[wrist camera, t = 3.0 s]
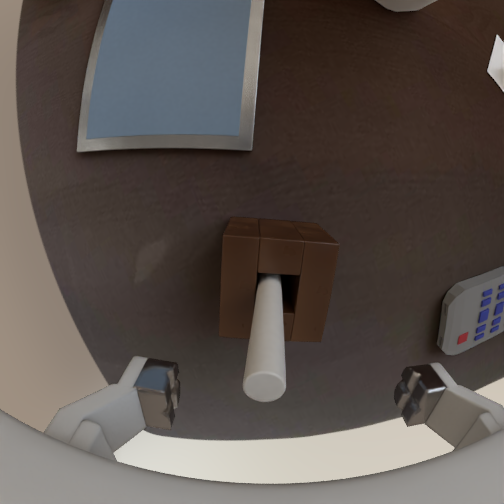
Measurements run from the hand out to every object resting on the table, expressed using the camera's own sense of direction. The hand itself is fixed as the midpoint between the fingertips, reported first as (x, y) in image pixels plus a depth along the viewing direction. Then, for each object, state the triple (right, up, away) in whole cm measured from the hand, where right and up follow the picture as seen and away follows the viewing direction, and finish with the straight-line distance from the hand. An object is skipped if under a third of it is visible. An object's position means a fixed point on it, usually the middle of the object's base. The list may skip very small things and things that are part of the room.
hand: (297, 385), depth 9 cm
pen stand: (0, +4, +13) cm, 14 cm away
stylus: (0, +4, +13) cm, 14 cm away
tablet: (-8, +22, +8) cm, 24 cm away
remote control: (+29, 0, +14) cm, 32 cm away
